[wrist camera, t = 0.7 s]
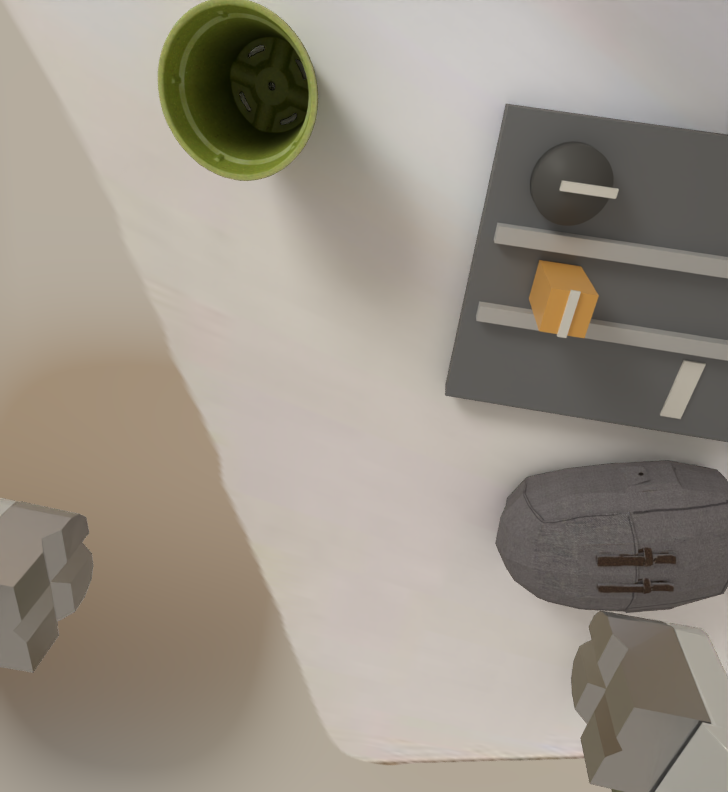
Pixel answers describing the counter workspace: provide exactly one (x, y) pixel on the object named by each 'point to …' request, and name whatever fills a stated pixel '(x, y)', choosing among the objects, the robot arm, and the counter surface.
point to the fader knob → (562, 299)
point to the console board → (603, 273)
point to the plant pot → (237, 89)
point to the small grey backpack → (619, 535)
